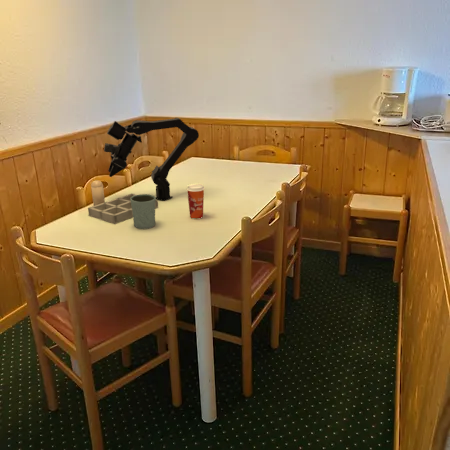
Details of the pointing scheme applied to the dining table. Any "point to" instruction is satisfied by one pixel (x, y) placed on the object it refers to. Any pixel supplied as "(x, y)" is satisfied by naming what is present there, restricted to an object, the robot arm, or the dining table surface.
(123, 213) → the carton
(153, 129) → the robot arm
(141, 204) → the grey green pot
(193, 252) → the dining table surface
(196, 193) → the paper cup
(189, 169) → the dining table surface
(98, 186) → the beige capped bottle
